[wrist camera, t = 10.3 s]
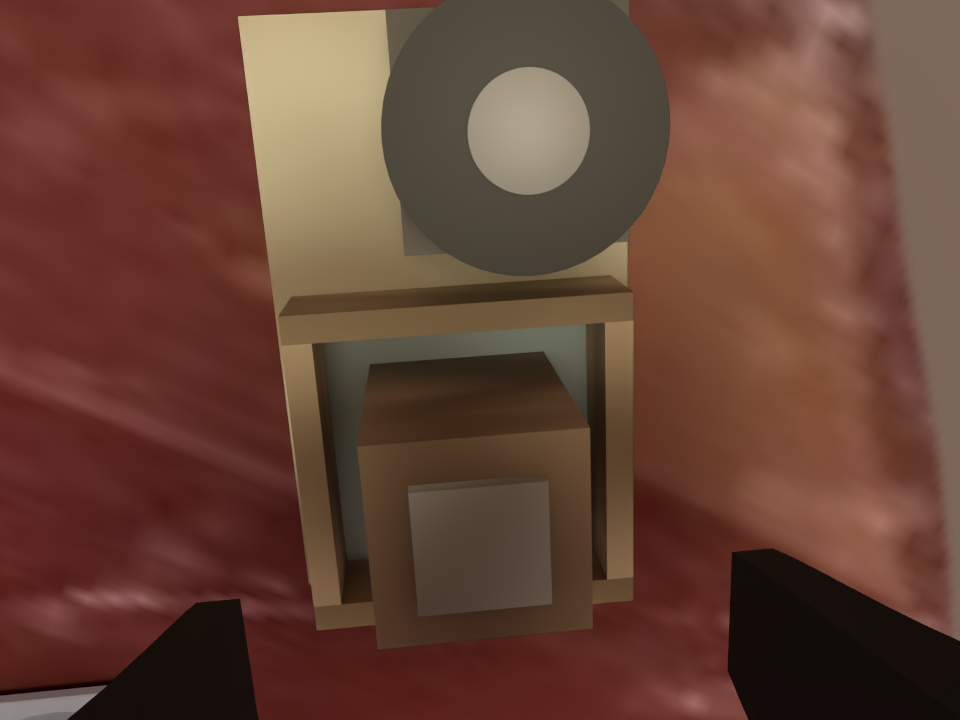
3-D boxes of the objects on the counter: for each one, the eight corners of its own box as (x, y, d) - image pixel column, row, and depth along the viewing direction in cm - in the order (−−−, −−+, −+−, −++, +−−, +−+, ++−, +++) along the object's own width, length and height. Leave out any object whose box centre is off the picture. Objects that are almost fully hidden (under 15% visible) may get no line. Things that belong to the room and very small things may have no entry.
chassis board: (616, 532, 22) (655, 608, 18) (314, 559, 21) (296, 643, 18) (612, 7, 18) (661, -21, 15) (249, 23, 18) (210, -2, 14)
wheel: (615, 238, 18) (671, 268, 14) (396, 252, 18) (393, 287, 14) (613, 1, 17) (676, -36, 13) (376, 12, 16) (367, -23, 12)
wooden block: (543, 350, 19) (594, 433, 14) (548, 508, 20) (596, 637, 15) (369, 363, 19) (356, 453, 14) (384, 522, 20) (377, 659, 15)
